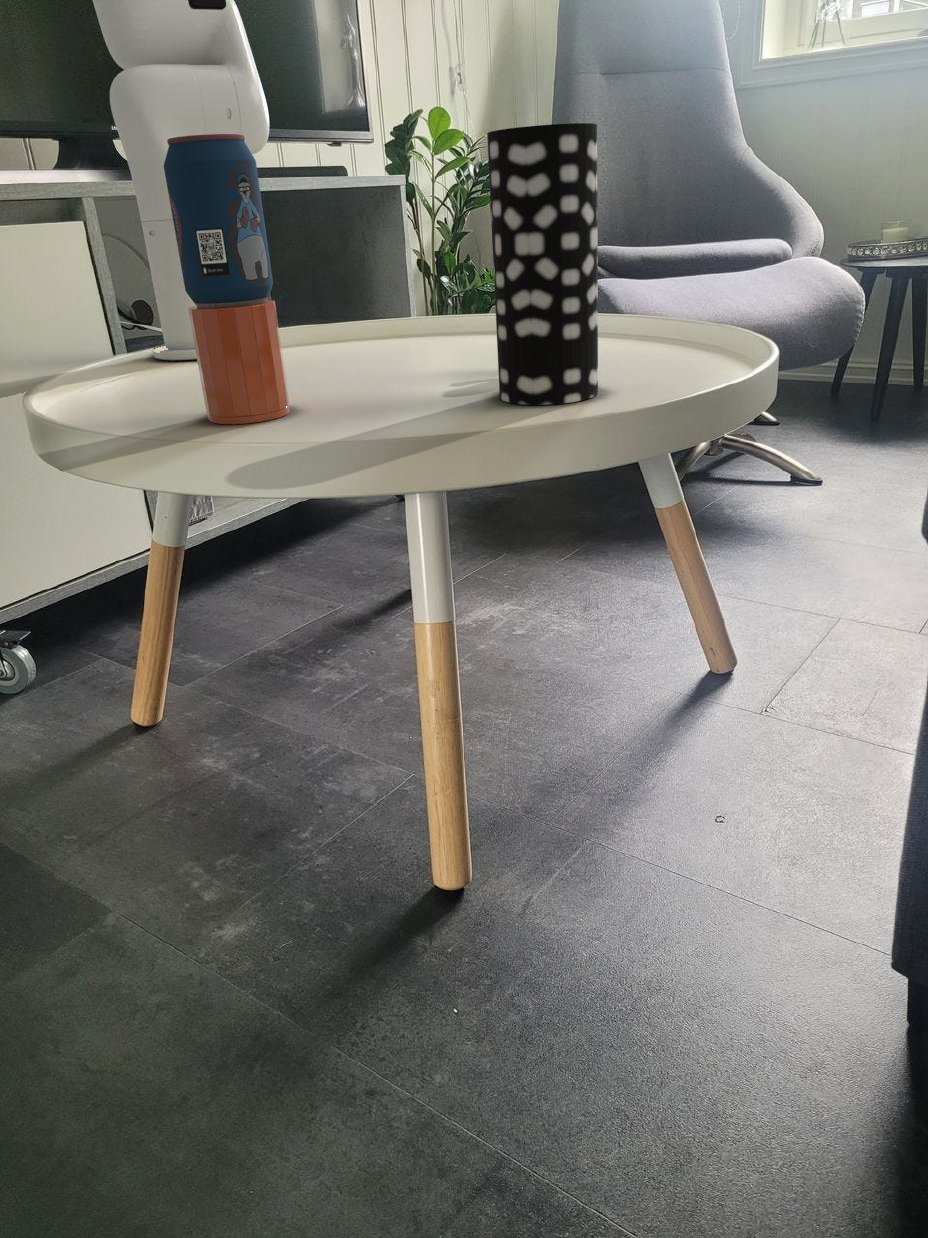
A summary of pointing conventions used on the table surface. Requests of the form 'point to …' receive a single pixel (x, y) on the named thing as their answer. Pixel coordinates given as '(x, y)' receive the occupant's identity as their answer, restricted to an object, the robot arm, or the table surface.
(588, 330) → the spotted tube
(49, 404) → the table surface
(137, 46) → the robot arm
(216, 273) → the soda can
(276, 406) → the coffee cup
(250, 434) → the table surface
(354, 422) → the table surface
